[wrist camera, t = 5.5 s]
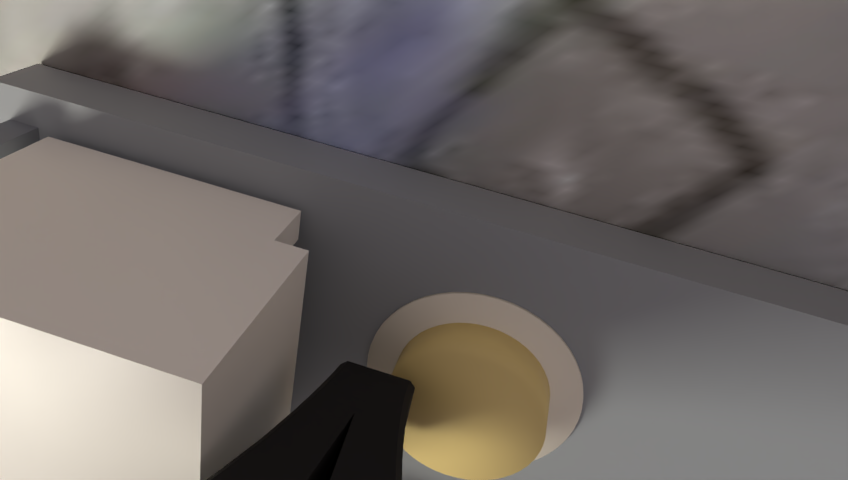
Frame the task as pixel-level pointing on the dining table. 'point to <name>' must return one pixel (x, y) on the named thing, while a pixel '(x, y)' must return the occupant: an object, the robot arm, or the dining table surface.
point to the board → (505, 308)
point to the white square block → (139, 318)
